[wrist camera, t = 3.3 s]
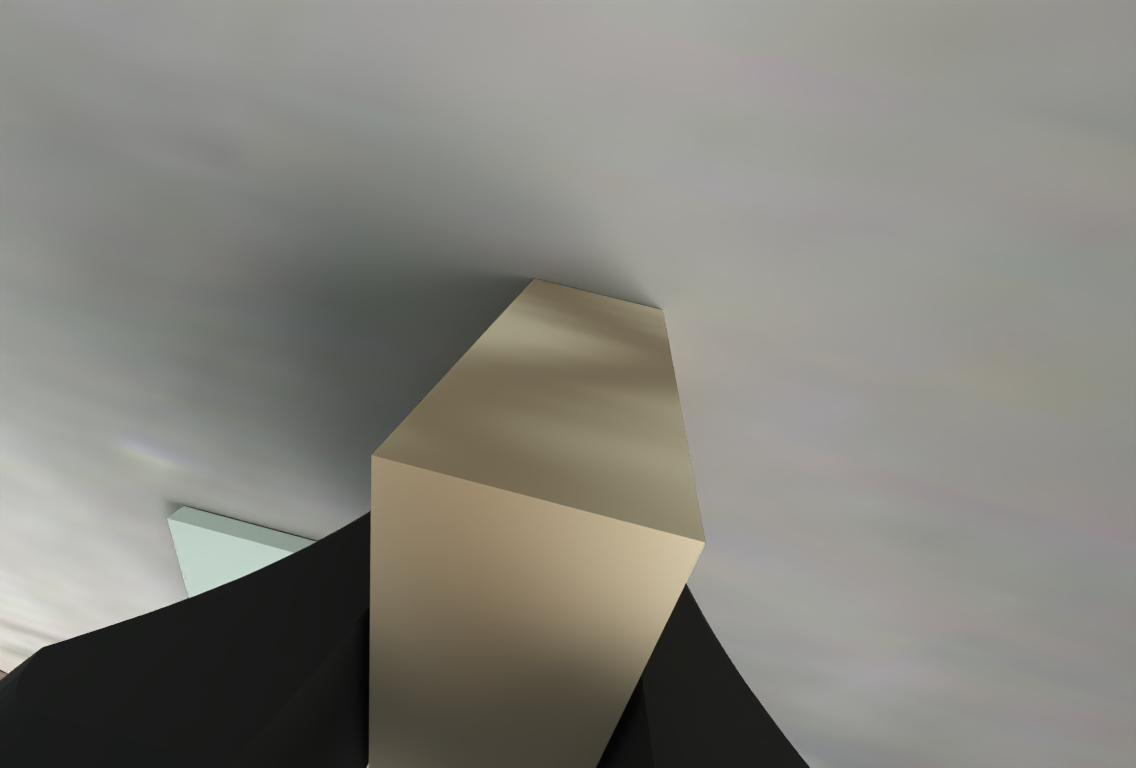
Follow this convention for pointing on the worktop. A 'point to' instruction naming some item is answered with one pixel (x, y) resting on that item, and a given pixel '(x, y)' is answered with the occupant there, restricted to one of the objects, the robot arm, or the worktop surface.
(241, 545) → the mat
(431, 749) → the slab
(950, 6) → the worktop surface
